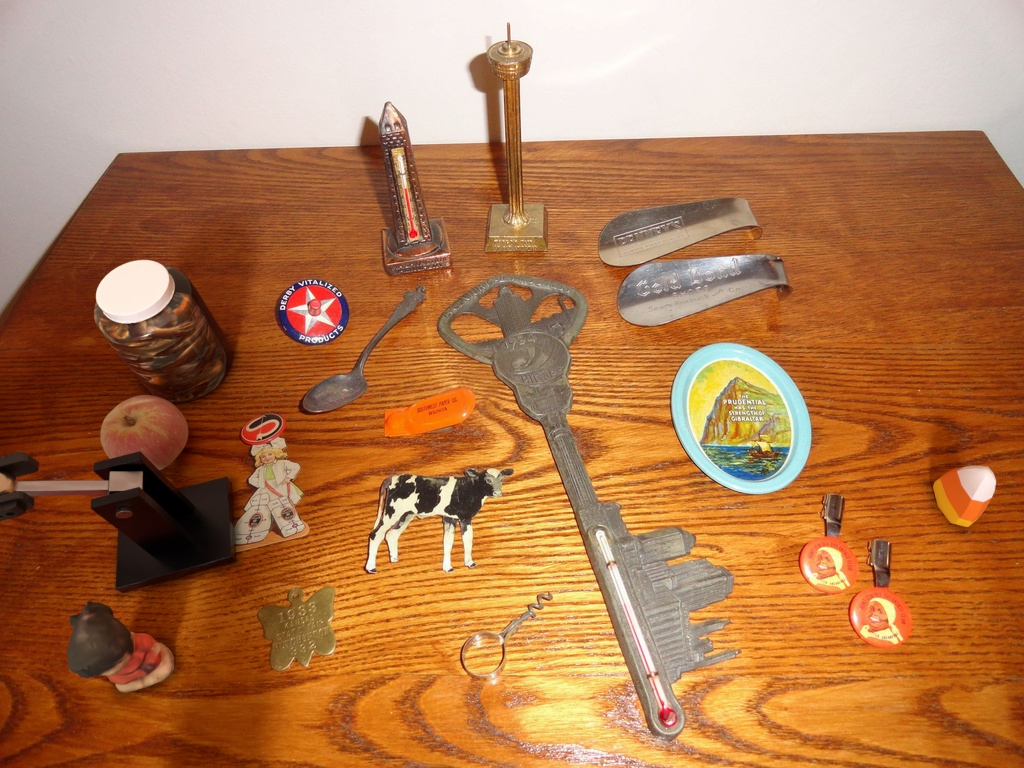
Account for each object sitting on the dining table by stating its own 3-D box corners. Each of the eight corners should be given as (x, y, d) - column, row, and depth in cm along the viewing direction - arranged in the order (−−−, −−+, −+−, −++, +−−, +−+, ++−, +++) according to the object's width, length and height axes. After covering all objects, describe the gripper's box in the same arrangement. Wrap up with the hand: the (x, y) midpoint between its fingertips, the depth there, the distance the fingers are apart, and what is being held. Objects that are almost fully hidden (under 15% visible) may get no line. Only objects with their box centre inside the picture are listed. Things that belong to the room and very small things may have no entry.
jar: (253, 349, 91) (207, 269, 79) (190, 416, 86) (130, 341, 74) (187, 318, 95) (134, 237, 83) (123, 380, 89) (55, 303, 77)
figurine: (101, 673, 69) (27, 641, 59) (146, 625, 71) (82, 587, 62) (141, 712, 67) (71, 686, 57) (187, 661, 69) (127, 628, 59)
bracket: (122, 593, 73) (44, 544, 62) (125, 510, 79) (54, 450, 68) (236, 561, 75) (180, 508, 64) (231, 481, 80) (180, 419, 69)
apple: (213, 437, 84) (185, 400, 77) (162, 497, 80) (127, 464, 73) (160, 410, 87) (128, 373, 80) (107, 467, 82) (69, 433, 76)
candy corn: (924, 482, 77) (959, 446, 70) (950, 479, 77) (988, 443, 70) (948, 532, 73) (988, 500, 67) (976, 529, 73) (1018, 497, 67)
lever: (-27, 514, 61) (-30, 495, 59) (-21, 483, 63) (-24, 464, 61) (140, 509, 68) (142, 493, 66) (140, 481, 70) (143, 464, 68)
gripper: (-242, 597, 53) (-8, 535, 55) (-189, 444, 61) (14, 394, 63) (-159, 624, 60) (49, 567, 62) (-121, 482, 67) (63, 435, 69)
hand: (30, 480), depth 62 cm, fingers closed on lever, 3 cm apart
